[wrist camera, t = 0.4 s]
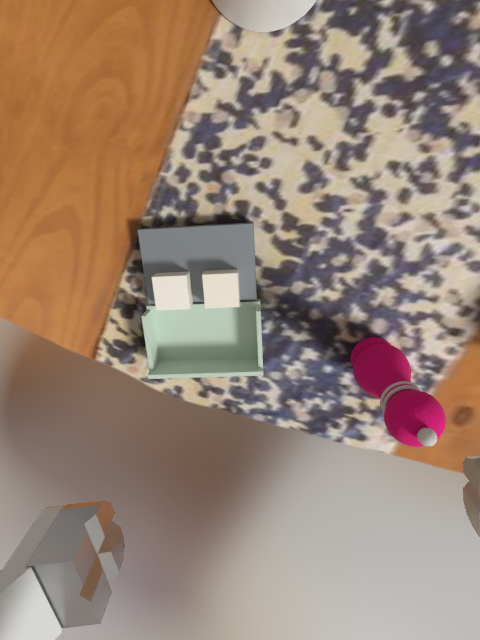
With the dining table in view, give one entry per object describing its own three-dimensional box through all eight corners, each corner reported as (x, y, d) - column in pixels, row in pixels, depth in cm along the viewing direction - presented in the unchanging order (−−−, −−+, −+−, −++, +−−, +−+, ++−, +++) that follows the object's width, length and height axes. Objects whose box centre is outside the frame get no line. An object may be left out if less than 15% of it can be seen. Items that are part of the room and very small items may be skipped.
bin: (148, 303, 54) (138, 314, 49) (260, 298, 53) (260, 309, 48) (157, 363, 57) (148, 378, 52) (262, 359, 56) (263, 375, 52)
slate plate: (142, 228, 51) (137, 229, 49) (253, 222, 50) (253, 223, 48) (151, 299, 54) (148, 303, 52) (256, 295, 53) (256, 299, 51)
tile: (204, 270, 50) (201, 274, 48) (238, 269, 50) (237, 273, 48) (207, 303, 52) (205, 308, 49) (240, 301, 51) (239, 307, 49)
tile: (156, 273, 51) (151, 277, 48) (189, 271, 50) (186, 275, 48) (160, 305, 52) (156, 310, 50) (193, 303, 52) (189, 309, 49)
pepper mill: (336, 359, 56) (377, 447, 37) (370, 323, 54) (432, 396, 35) (372, 386, 57) (429, 484, 38) (407, 352, 55) (486, 437, 36)
